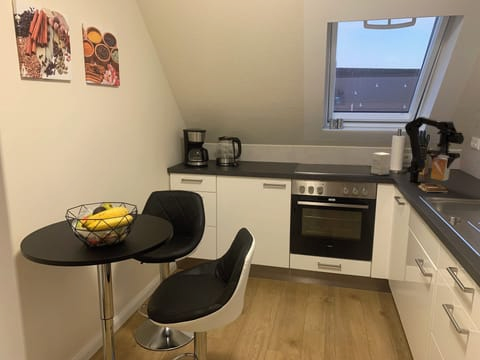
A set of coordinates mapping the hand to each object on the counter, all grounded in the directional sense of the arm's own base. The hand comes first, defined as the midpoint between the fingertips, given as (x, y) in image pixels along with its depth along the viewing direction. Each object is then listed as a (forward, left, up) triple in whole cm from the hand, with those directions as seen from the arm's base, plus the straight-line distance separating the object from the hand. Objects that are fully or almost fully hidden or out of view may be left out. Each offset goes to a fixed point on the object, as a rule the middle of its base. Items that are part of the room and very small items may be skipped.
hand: (440, 167), depth 231 cm
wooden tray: (+7, -6, -13) cm, 16 cm away
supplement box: (-38, -27, -13) cm, 48 cm away
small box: (0, 0, -8) cm, 8 cm away
